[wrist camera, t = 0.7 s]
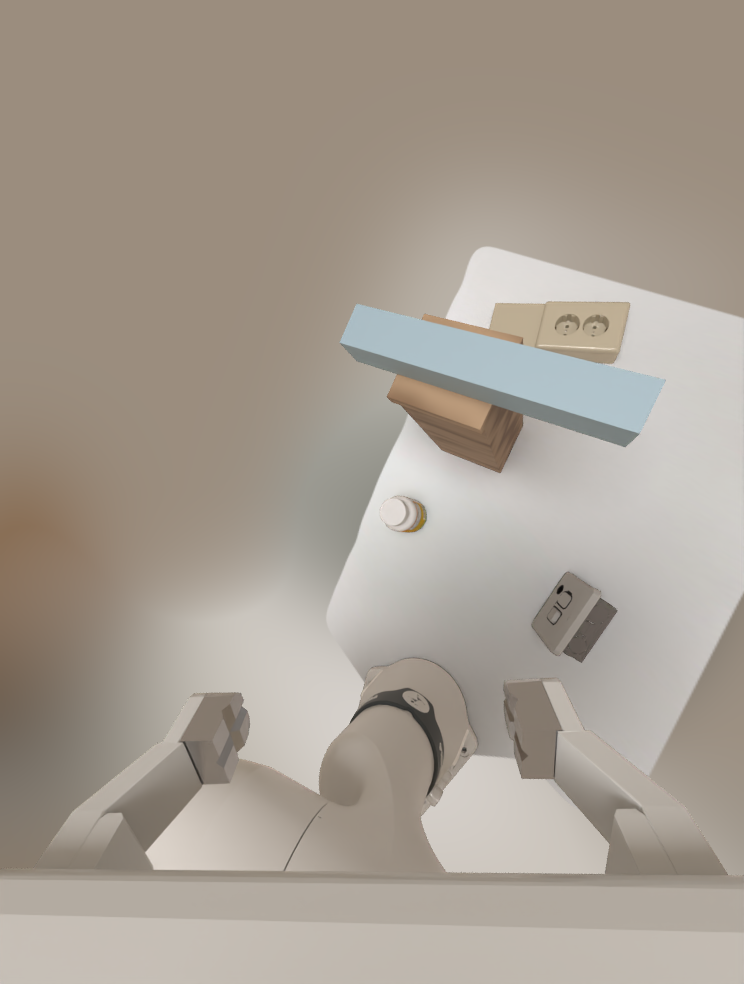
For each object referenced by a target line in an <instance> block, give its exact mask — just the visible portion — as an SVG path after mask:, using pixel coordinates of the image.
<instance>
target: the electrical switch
mask: <svg viewBox="0 0 744 984" xmlns="http://www.w3.org/2000/svg"><path fill="white" fill-rule="evenodd" d="M600 597H601V591H599V590H597V589H596V588H593V587H591V586H590V585H588V584H587V583H585V582H583V581H582V580H580V579H579V578H577V576H575V575H573V574H571V573H569V572H567V573H566V574H564V576H563V577H562V579H561V580H560V582H559V583H558V585H557V586H556V588H555V589H554V591H553V592H552V594H551V595H550V597H549V598H548V600H547V601H546V603H545V604H544V606H543V607H542V609H541V610H540V612H539V613H538V615H537V616H536V618H535V619H534V621H533V622H532V627H533V628H534V630H535V631H536V632H537V634H538V635H539V637H540V638H541V639H542V641H543V642H544V643H545V645H546V646H547V647H548V649H549V650H550V652H552V653H553V654H555V655H556V656H560V655H561V653H562V652H564V653H565V654H566V655H568V656H571V657H573V658H575V659H576V660H578V661H579V662H582V661H583V660H584V659H585V657H586V656H587V654H588V653H589V651H590V650H591V649H592V647H593V646H594V644H595V643H596V641H597V640H598V638H599V637H600V636H601V634H602V633H603V631H604V630H605V628H606V627H607V625H608V624H609V623H610V621H611V620H612V618H613V617H614V615H615V614H616V612H617V610H616V608H615V609H614V607H613V606H612V605H610V604H609V603H607V602H606V601H604V600H602V599H601V598H600ZM586 621H587V622H586ZM589 621H590V622H592V623H594V624H591V623H590V622H589ZM602 622H603V623H602ZM579 631H580V632H579ZM583 635H584V636H583ZM576 636H578V637H576ZM585 640H586V641H585ZM568 647H569V648H568ZM585 650H586V651H585Z"/></svg>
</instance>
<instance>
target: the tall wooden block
mask: <svg viewBox="0 0 744 984" xmlns="http://www.w3.org/2000/svg"><path fill="white" fill-rule="evenodd" d="M422 320H424V321H428V322H432V323H437V324H441V325H445V326H449V327H453V328H457V329H461V330H465V331H469V332H473V333H477V334H481V335H485V336H489V337H493V338H497V339H501V340H506V341H510V342H514V343H518V344H522V345H523V337H519V336H515V335H511V334H507V333H502V332H498V331H494V330H490V329H486V328H482V327H477V326H473V325H469V324H465V323H461V322H456V321H452V320H448V319H444V318H439V317H435V316H431V315H427V314H424V316H423V318H422ZM387 398H388V399H389V400H390V401H391V402H393V403H396V404H399V405H401V406H402V407H403V408H404V409H405V410H406V412H407V413H408V414H409V415H410V416H411V417H412V418H413V419H414V420H415V421H416V422H417V424H418V425H419V426H420V427H421V428H422V429H423V430H424V431H425V432H426V433H427V434H428V436H429V437H430V438H431V439H432V440H433V441H434V442H435V443H436V444H437V445H438V446H439V448H440V449H441V450H443V451H445V452H448V453H450V454H453V455H455V456H458V457H461V458H463V459H466V460H468V461H471V462H473V463H476V464H478V465H481V466H483V467H486V468H489V469H491V470H494V471H496V472H499V473H501V471H502V469H503V467H504V464H505V462H506V460H507V458H508V456H509V454H510V452H511V450H512V448H513V445H514V443H515V441H516V439H517V437H518V435H519V433H520V431H521V428H522V426H523V414H520V413H517V412H514V411H511V410H508V409H505V408H502V407H498V406H495V405H492V404H489V403H486V402H483V401H480V400H477V399H474V398H470V397H467V396H464V395H461V394H458V393H455V392H452V391H449V390H445V389H442V388H439V387H436V386H433V385H430V384H427V383H424V382H420V381H417V380H414V379H411V378H408V377H405V376H402V375H399V374H397V376H396V378H395V380H394V382H393V385H392V387H391V389H390V391H389V393H388V395H387Z"/></svg>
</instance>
